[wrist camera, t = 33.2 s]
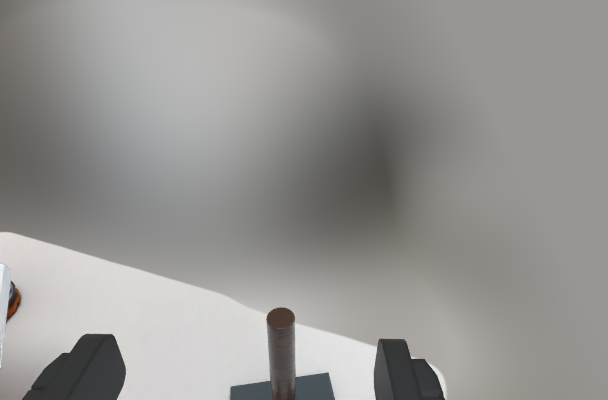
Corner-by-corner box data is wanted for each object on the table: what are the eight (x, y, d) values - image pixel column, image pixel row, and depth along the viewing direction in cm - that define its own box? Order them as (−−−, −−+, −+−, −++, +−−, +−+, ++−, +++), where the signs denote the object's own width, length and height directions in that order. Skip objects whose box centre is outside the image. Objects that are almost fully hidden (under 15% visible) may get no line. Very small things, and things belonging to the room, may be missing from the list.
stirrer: (303, 405, 34) (303, 294, 28) (310, 450, 31) (313, 336, 24) (261, 411, 34) (251, 300, 27) (264, 458, 30) (253, 344, 24)
